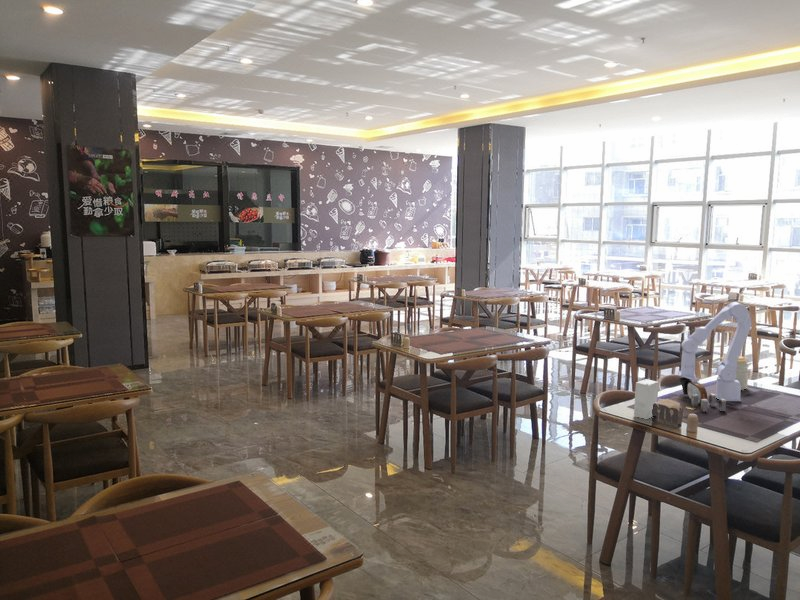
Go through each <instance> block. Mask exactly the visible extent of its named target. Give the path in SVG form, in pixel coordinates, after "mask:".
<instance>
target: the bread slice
mask: <svg viewBox="0 0 800 600" xmlns="http://www.w3.org/2000/svg"><path fill="white" fill-rule="evenodd" d="M687 393H688V394H687V396H688V398H689V399H690V400H692V394H697V395H698V405H701V399H707V400H708V393H707V389H706V388H705V386H704V385H703V384H701V383H699V382H698V381H697V383H693V382H689V383H688V385H687Z"/></svg>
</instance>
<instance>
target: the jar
mask: <svg viewBox="0 0 800 600" xmlns="http://www.w3.org/2000/svg"><path fill="white" fill-rule="evenodd" d="M725 357H726V354H725V355H724V356H721V358H720V359H721V360H720V361H718V364H719V365H720V364H721V363H722V360H723V359H724V358H725ZM749 366H750V364H748V359H747V358H745V356H741V355H740V356H739V358H738V361H737V368H736V377H735V380H738V381H739V382H740V384H741V390H742V389H746V388H747V389H748V385H749V384H748V382H749V381H748V380H749V379H748V378H749V373H750V372H749V370H748V368H749ZM718 376H719V374H718V373H717V377H718ZM747 389H746V390H747ZM742 391H743V390H742Z"/></svg>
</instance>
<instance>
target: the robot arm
mask: <svg viewBox="0 0 800 600" xmlns="http://www.w3.org/2000/svg"><path fill="white" fill-rule="evenodd" d="M733 318H734V321H735V322H736V324H737V327H736V329H735V332H734V334H733V337H732V339H731V342H730V344H729V347H728V350H727V352H726V354H725V355H726V357H725V358H724V359H723V360H722V359H721V360H722V363H721V364H719V365H718V366H717V367H716V373H717V377H716V387H715V395H716V398H717V399H725V400H726V402H742V400H741V384H740V382H739V381H738V380H735V377H736V368H737V361H738V358H739V356H741V353H742V350H743V347H744V345H745V343H746V340H747V338H748V335H749V332H750V330H751V328H752V319H751V316H750V312H749V310H748V308H747V307H746V306H745V305H744V304H743V303H742V304H741V303H740V302H738V301H731V302H730V303H728V305H726V306H724V307H723V308H722V309H721V310H720V311H719V312H718V313H717V314H716V315H715V316H714V317H713V318H712V319H710V321H709V322H708V323H707V324H706V325H705V326H699V327H696V328H695V331H694V332H692V334H690V335H688V336H687V338H685V339H684V340H682V342H681V344H680V345H681V346H680V347H681V348H682V351H681V352H682V353H681V360H680V361H681V362H680V364H681V366H680V370H678V371H677V376H678V377H681V378H678V379H679V382H680V384H681V387H682V393H683V395H688V393H687V385H688V383H689V382H693V383H697V382H698V378H697V377H696V375H695V374H696V373H695V370H696V352H697V350H698V347H699V346H700V345H702V344H703V343H704V342H705V341H706V340H707V339H708V338H710V337H711V332H712V331H713V330H715V329H716V328H718V326H719V325H720V324H721V323H723V322H724V321H726V320H733ZM718 374H719V376H718ZM717 399H716V400H717Z"/></svg>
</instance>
